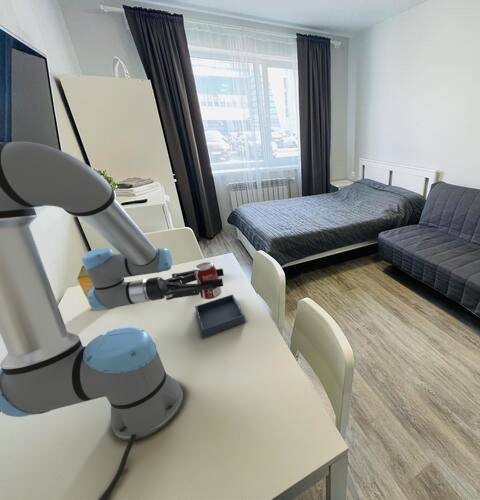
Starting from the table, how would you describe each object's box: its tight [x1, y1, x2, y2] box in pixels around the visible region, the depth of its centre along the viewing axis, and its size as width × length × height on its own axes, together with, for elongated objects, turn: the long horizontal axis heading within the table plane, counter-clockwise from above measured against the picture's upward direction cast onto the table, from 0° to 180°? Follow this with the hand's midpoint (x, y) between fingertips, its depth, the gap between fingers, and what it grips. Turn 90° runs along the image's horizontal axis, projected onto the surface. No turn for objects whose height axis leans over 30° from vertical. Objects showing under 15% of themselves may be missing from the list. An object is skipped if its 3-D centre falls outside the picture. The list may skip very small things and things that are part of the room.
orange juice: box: [76, 263, 95, 311], centre depth 108 cm, size 8×9×20 cm
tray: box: [194, 293, 246, 339], centre depth 101 cm, size 16×14×3 cm
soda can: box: [194, 261, 222, 300], centre depth 95 cm, size 7×7×12 cm
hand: (222, 276), depth 96 cm, fingers closed on soda can, 7 cm apart
